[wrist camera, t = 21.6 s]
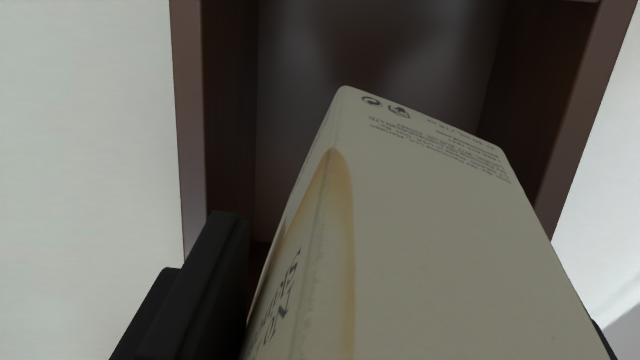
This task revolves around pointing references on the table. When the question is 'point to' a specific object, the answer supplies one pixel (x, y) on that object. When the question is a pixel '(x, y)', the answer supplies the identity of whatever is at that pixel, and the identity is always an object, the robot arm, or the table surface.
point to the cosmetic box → (411, 251)
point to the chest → (380, 90)
